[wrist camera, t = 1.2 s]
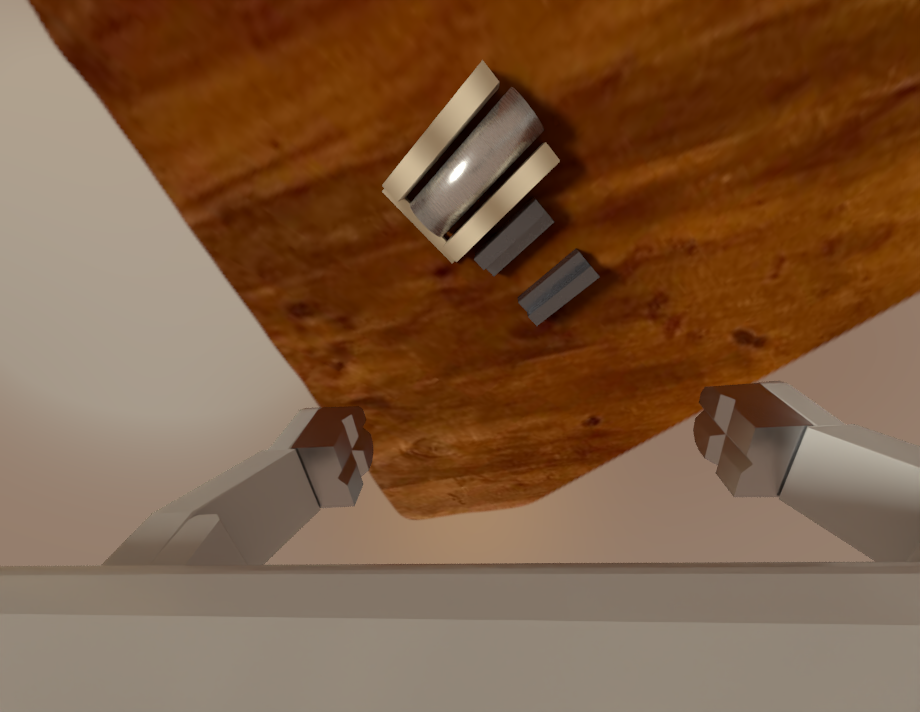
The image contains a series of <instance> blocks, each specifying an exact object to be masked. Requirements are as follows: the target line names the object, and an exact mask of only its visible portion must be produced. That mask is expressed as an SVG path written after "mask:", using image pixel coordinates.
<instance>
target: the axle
mask: <svg viewBox="0 0 920 712" xmlns="http://www.w3.org/2000/svg"><path fill="white" fill-rule="evenodd" d="M543 131H544V127H543V125H542V123H541V122H540V120H539V119H538V117H537V116H536V114H535V113H534V111H533V110H532V109H531V107H530V106H529V105H528V103H527V102H526V101H525V100H524V98H523V97H522V96H521V95H520V94H519V93H518V92H517V91H516V90H515V89H514V88H513V87H511V88H510V89H509V90H508V91H507V92H506V93H505V95H504V96H503V97H502V98H501V99H500V100H499V101H498V103H497V104H496V105H495V106H494V107H493V108H492V110H491V111H490V112H489V113H488V114H487V115H486V116H485V118H484V119H483V120H482V121H481V122H480V123H479V125H478V126H477V127H476V128H475V129H474V130H473V131H472V133H471V134H470V135H469V136H468V137H467V138H466V140H465V141H464V142H463V143H462V144H461V145H460V146H459V148H458V149H457V150H456V151H455V152H454V153H453V155H452V156H451V157H450V158H449V159H448V160H447V161H446V163H445V164H444V165H443V166H442V167H441V168H440V170H439V171H438V172H437V173H436V174H435V175H434V176H433V178H432V179H431V180H430V181H429V182H428V183H427V185H426V186H425V187H424V188H423V189H422V190H421V191H420V193H419V194H418V195H417V196H416V197H415V198H414V200H413V201H412V202H411V203H410V208H411V210H412V211H413V213H414V214H415V216H416V217H417V218H418V219H419V221H420V222H421V223H422V224H423V225H424V226H425V227H426V228H427V229H428V230H430V231H431V232H432V233H433V234H435V235H437V236H438V237H442V236H443V235H444V234H445V233H446V232H447V231H448V230H449V229H450V228H451V227H452V226H453V225H454V224H455V223H456V222H457V221H458V220H459V219H460V218H461V217H462V216H463V214H464V213H465V212H466V211H467V210H468V209H469V208H470V207H471V206H472V205H473V204H474V203H475V202H476V201H477V200H478V199H479V198H480V197H481V196H482V195H483V194H484V193H485V192H486V191H487V190H488V188H489V187H490V186H491V185H492V184H493V183H494V182H495V181H496V180H497V179H498V178H499V177H500V176H501V175H502V174H503V173H504V172H505V171H506V170H507V169H508V168H509V167H510V166H511V165H512V163H513V162H514V161H515V160H516V159H517V158H518V157H519V156H520V155H521V154H522V153H523V152H524V151H525V150H526V149H527V148H528V147H529V146H530V145H531V144H532V143H533V142H534V141H535V140H536V138H537V137H538V136H539V135H540V134H541V133H542V132H543Z"/></svg>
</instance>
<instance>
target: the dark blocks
mask: <svg viewBox="0 0 920 712" xmlns="http://www.w3.org/2000/svg"><path fill="white" fill-rule="evenodd" d="M553 223H554V221H553V220H552V218H551V217H550V216H549V215H548V214H547V212H546V211H545V210H544V209H543V208H542V206H541V205H540V204H539V203H538V201H537V200H536V199H535V198H534V197H532V198H531V199H530V200H529V201H528V202H527V203H526V204H525V205H524V206H523V207H522V208H521V209H520V210H519V211H518V212H517V213H516V214H515V215H514V216H513V217H512V218H511V219H510V220H509V221H508V222H507V223H506V224H504V225H503V226H502V227H501V228H500V229H499V230H498V231H497V232H496V233H495V234H494V235H493V236H492V237H491V238H490V239H489V240H488V241H487V242H486V243H485V244H484V245H483V246H482V247H481V248H480V249H479V250H477V251H476V252H475V256H474V260H475V261H476V262H477V263H478V264H479V265H480V267H481V268H482V269H483V270H484V269H487V270H488V271H489V272H490V273H491V274H492V275H493V276H495V275H496V274H497V273H498V272H499V271H501V270H502V269H503V268H504V267H505V266H506V265H507V264H508V263H509V262H511V261H512V260H513V259H514V258H515V257H516V256H517V255H518V254H519V253H521V252H522V251H523V250H524V249H525V248H526V247H527V246H528V245H529V244H531V243H532V242H533V241H534V240H535V239H536V238H537V237H538V236H539V235H540V234H542V233H543V232H544V231H545V230H546V229H547V228H548V227H549V226H550V225H552V224H553ZM598 278H599V275H598V274H597V273H596V272H595V270H594V269H593V268H592V267H591V266H590V264H589V263H588V262H587V261H586V260H585V258H584V257H583V256H582V255H581V254H580V252H579V251H578V250H577V249H575V250H574V251H572V252H571V253H570V254H569V255H568V256H566V257H565V258H564V259H563V260H562V261H560V262H559V263H558V264H557V265H556V266H554V267H553V268H552V269H551V270H550V271H549V272H547V273H546V274H545V275H544V276H543V277H541V278H540V279H539V280H538V281H537V282H535V283H534V284H533V285H532V286H531V287H530V288H528V289H527V290H526V291H525V292H524V293H522V294H521V295H520V296H519V297H518V303H519V304H520V305H521V306H522V307H523V308H524V309H525V310H526V311H527V314H528V317H529V318H530V319H531V320H532V321H533V322H534V324H535V325H536V326H538V325H539V324H540V323H541V322H543V321H544V320H545V319H547V318H548V317H549V316H550V315H552V314H553V313H554V312H556V311H557V310H558V309H559V308H561V307H562V306H563V305H565V304H566V303H567V302H568V301H570V300H571V299H572V298H574V297H575V296H576V295H577V294H579V293H580V292H581V291H583V290H584V289H585V288H586V287H588V286H589V285H590V284H592V283H593V282H594V281H595V280H597V279H598Z"/></svg>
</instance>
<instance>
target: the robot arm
mask: <svg viewBox="0 0 920 712" xmlns="http://www.w3.org/2000/svg"><path fill="white" fill-rule="evenodd" d="M699 403H700V405H701V406H702V407H703V409H704V411H702V412H701V413H700V414H699V415H698V416H697V417H696V418H695V423H694V430H693V431H694V437H695V442H696V445H697V447H698V449H699V451H700V452H701V454H702V455H703V456H704V458H705V459H707V460H709V461H710V462H712V463H714V464H716V465H718V467H717V471H716V474H717V475H718V477H719V478H720V479H721V481H722V482H723V483H724V485H725V486H726V487H727V489H728V490H729V491H730V492H731V494H732V495H733V496H734V497H779V499H780V500H781V501H783V502H784V503H786V504H787V505H789V506H791V507H792V508H793V509H795V510H797V511H798V512H800V513H801V514H803V515H804V516H806V517H807V518H809V519H811V520H812V521H814V522H815V523H817V524H819V525H820V526H821V527H823V528H824V529H826V530H828V531H829V532H831V533H832V534H834V535H835V536H837V537H838V538H840V539H841V540H843V541H845V542H846V543H848V544H849V545H851V546H852V547H854V548H855V549H857V550H858V551H860V552H862V553H863V554H865V555H866V556H868V557H869V558H871V559H872V560H874V561H875V562H747V563H746V562H737V563H735V562H734V563H531V564H530V563H525V564H350V565H349V564H339V565H337V564H327V565H264V564H265V563H266V562H267V561H268V560H269V559H270V558H271V557H272V556H273V555H274V554H275V553H276V552H277V551H278V550H279V549H280V548H281V547H282V546H283V545H284V544H285V543H287V541H289V540H290V539H291V538H292V537H293V536H294V535H295V534H296V533H297V532H298V531H299V529H301V528H302V527H303V526H304V525H305V524H306V523H307V522H308V521H309V520H310V519H311V518H312V517H313V516H314V515H316V514H317V513H318V512H319V511H320V508H330V507H347V506H348V507H349V506H355V504H356V501H357V499H358V496H359V494H360V491H361V489H362V486H363V481H362V478H361V476H363V475H364V474H365V473H366V472H367V471H369V469H370V466H371V463H372V458H373V441H372V438H371V434H370V433H369V432H368V431H367V430H366V429H364V428H363V426H364V424H365V422H366V417H365V414H364V411H363V409H362V408H361V407H359V406H348V407H323V408H320V407H319V408H305V409H302V410H300V411H299V412H298V413H297V414H296V415H295V416H294V418H293V419H292V420H291V422H290V423H289V424H288V425H287V427H286V428H285V429H284V430H283V432H282V433H281V434H280V435H279V437H278V438H277V439H276V440H275V442H274V443H273V444H272V446H271V447H270V448H269V449H268V450H262V451H260V452H258V453H256V454H255V455H253V456H251V457H250V458H248V459H246V460H244V461H243V462H241V463H239V464H237V465H235V466H234V467H232V468H231V469H229V470H227V471H225V472H223V473H222V474H220V475H218V476H216V477H215V478H213V479H211V480H210V481H208V482H206V483H204V484H203V485H201V486H199V487H197V488H196V489H194V490H192V491H190V492H189V493H187V494H185V495H183V496H182V497H180V498H178V499H177V500H175V501H173V502H171V503H170V504H168V505H166V506H165V507H163V508H161V509H159V510H157V511H156V512H154V513H152V514H151V515H150V516H149V517H148V518H147V519H146V520H145V521H144V522H143V523H142V524H141V525H140V526H139V527H138V528H137V529H136V530H135V531H134V532H133V533H132V534H131V535H130V536H129V537H128V538H127V539H126V540H125V541H124V542H123V543H122V544H121V546H120V547H119V548H118V549H117V550H116V551H115V552H114V553H113V554H112V555H111V556H110V557H109V558H108V559H107V560H106V561H105V562H104V563H103V564H102V565H101V566H0V712H920V446H918V445H915V444H912V443H909V442H906V441H903V440H899V439H897V438H893V437H891V436H888V435H885V434H882V433H879V432H876V431H873V430H870V429H867V428H864V427H861V426H858V425H855V424H851V425H846V424H844V423H843V422H841V421H840V420H839V419H837V418H836V417H834V416H833V415H832V414H830V413H829V412H827V411H826V410H825V409H823V408H822V407H820V406H819V405H818V404H816V403H815V402H813V401H812V400H810V399H809V398H808V397H806V396H805V395H803V394H802V393H801V392H799V391H798V390H796V389H795V388H793V387H792V386H791V385H789V384H788V383H785V382H781V381H770V382H759V383H752V384H738V385H725V386H711V387H705V388H704V389H703V391H702V392H701V395H700V400H699Z"/></svg>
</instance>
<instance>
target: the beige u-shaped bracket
mask: <svg viewBox="0 0 920 712" xmlns="http://www.w3.org/2000/svg"><path fill="white" fill-rule="evenodd" d="M498 89H499V81H498V79H497V78H496V77H495V75H494V74H493V73H492V72H491V70H490V69H489V68H488V66H487V65H486V64H485V62H484V61H483V60H482V61H481V63H480V64H479V65H478V66H477V68H476V69H475V70H474V71H473V73H472V74H471V75H470V76H469V78H468V79H467V80H466V81H465V83H464V84H463V85H462V86H461V88H460V89H459V90H458V91H457V93H456V94H455V95H454V96H453V98H452V99H451V100H450V101H449V103H448V104H447V105H446V106H445V107H444V109H443V110H442V111H441V112H440V114H439V115H438V116H437V117H436V119H435V120H434V121H433V122H432V124H431V125H430V126H429V127H428V129H427V130H426V131H425V132H424V134H423V135H422V136H421V137H420V139H419V140H418V141H417V142H416V144H415V145H414V146H413V147H412V149H411V150H410V151H409V152H408V154H407V155H406V156H405V157H404V159H403V160H402V161H401V162H400V164H399V165H398V166H397V167H396V169H395V170H394V171H393V172H392V174H391V175H390V176H389V177H388V178H387V180H386V181H385V182H384V183H383V185H382V186H383V187H384V190H383V191H382V192H383V193H384V194H385V195H386V196H387V197H388V198H389V199H390V200H391V201H392V202H393V203H394V204H395V205H396V206H397V208H398V209H399V210H400V211H401V212H402V213H403V214H404V215H405V216H406V217H407V218H408V219H409V220H410V221H411V222H412V223H413V224H414V225H415V226H416V227H417V228H418V229H419V230H420V231H421V232H422V233H423V234H424V235H425V236H426V237H427V238H428V239H429V240H430V241H431V242H432V243H433V244H434V245H435V246H436V248H437V249H438V250H439V251H440V252H441V253H442V254H443V255H444V256H445V257H446V258H447V259H448V260H449V261H450V262H451V263H453V262H454V261H456V262H457V261H458V260H459V259H460V258H462V257H463V256H464V255H465V254H466V253H467V252H468V251H469V250H470V249H471V248H472V247H473V246H474V245H475V244H476V243H477V242H478V241H479V240H480V239H481V238H482V237H483V236H484V235H485V234H486V233H487V232H488V231H489V230H490V229H491V228H492V227H493V226H494V225H495V224H496V223H497V222H498V221H499V220H500V219H501V218H502V217H503V216H504V215H506V214H507V213H508V212H509V211H510V210H511V209H512V208H513V207H514V206H515V205H516V204H517V203H518V202H519V201H520V200H521V199H522V198H523V197H524V196H525V195H526V194H527V193H528V192H529V191H530V190H531V189H532V188H533V187H534V186H535V185H536V184H537V183H538V182H539V181H540V180H541V179H542V178H543V177H544V176H545V175H546V174H547V173H548V172H550V171H551V170H552V169H553V168H554V167H555V166H556V165H557V164H558V163H559V162H560V160H559V159H558V157H557V156H556V155H555V153H554V152H553V151H552V149H551V148H550V147H549V146H548V144H547V143H546V142H545V143H542V144H541V145H540V146H539V147H538V148H537V149H536V150H535V151H534V152H533V153H532V154H531V155H530V156H529V157H528V158H527V159H526V160H525V161H524V162H523V164H522V165H521V166H520V167H519V168H518V169H517V170H516V171H515V172H514V173H513V174H512V175H511V176H510V177H509V178H508V179H507V180H506V181H505V182H504V183H503V184H502V185H501V186H500V187H499V188H498V189H497V190H496V191H495V192H494V193H493V194H492V195H491V196H490V197H489V198H488V199H487V200H486V201H485V203H484V204H483V205H482V206H481V207H480V208H479V209H478V210H477V211H476V212H475V213H474V214H473V215H472V216H471V217H470V218H469V219H468V220H467V221H466V222H465V223H464V224H463V225H462V226H461V227H460V228H459V229H458V230H457V231H456V232H455V233H454V234H453V235H452V236H451V237H450V238H449V239H448V240H447V239H446V238H445V237H444V236H442V237H438V236H437V235H435V234H433V233H432V232H431V231H430V230H428V229H427V228H426V227H425V226H424V225H423V224H422V223H421V222H420V221H419V219H418V218H417V217H416V216H415V214H414V213H413V211H412V210H411V208H410V203H411V202H410V201H409V200H408V199H407V195H408V194H409V193H410V192H411V191H412V190H413V188H414V187H415V186H416V185H417V184H418V183H419V181H420V180H421V179H422V178H423V177H424V176H425V174H426V173H427V172H428V171H429V170H430V168H431V167H432V166H433V165H434V164H435V163H436V161H437V160H438V159H439V158H440V157H441V156H442V154H443V153H444V152H445V151H446V150H447V149H448V147H449V146H450V145H451V144H452V143H453V141H454V140H455V139H456V138H457V137H458V136H459V134H460V133H461V132H462V131H463V130H464V129H465V127H466V126H467V125H468V124H469V123H470V122H471V120H472V119H473V118H474V117H475V116H476V114H477V113H478V112H479V111H480V110H481V109H482V107H483V106H484V105H485V104H486V103H487V102H488V100H489V99H490V98H491V97H492V96H493V95H494V93H495V92H496V91H497V90H498Z"/></svg>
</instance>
